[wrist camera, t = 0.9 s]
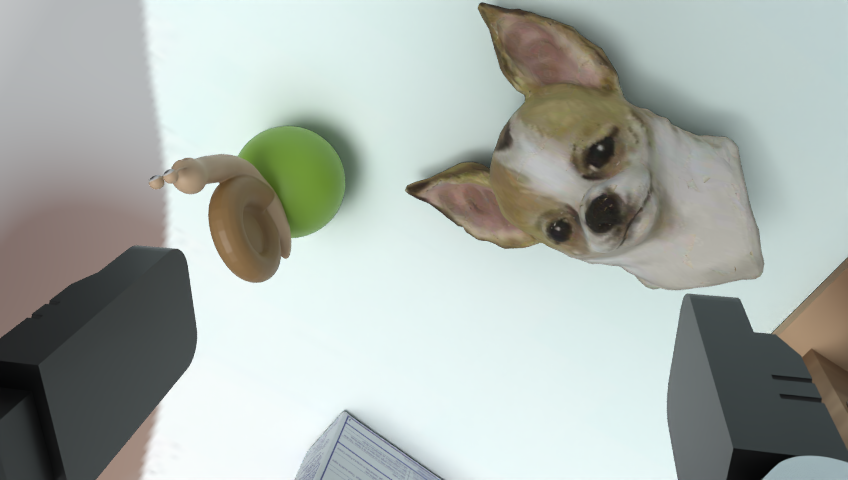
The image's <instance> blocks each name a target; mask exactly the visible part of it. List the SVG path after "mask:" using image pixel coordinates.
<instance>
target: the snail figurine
mask: <svg viewBox="0 0 848 480" xmlns="http://www.w3.org/2000/svg"><path fill="white" fill-rule="evenodd" d="M163 178H164V179H163ZM164 180H165V181H166V182H167V183H173V184H174V186H175V187H176V188H177V189H178V190H179V191H181V192H183V193H186V194H195V193H198V192H200V191H201V190H202V189H203V188H204V186H205V185H206V184H210V183H216V182H219V183H220V184H219V185H218V186H217V188H216V189H215V191H214V193H213V195H212V197H211V200H210V204H209V214H208V217H209V227H210V231H211V236H212V239H213V242H214V245H215V247H216V249H217V251H218V253H219V255H220V257H221V258H222V260H223V262H224V263H225V264H226V266H227V267H228V268H229V269H230V270H231V271H232V272H233V273H234V274H235V275H236V276H238V277H239V278H241V279H243V280H245V281H248V282H252V283H257V282H263V281H266V280H268V279H269V278H271V277H272V276H273V275H274V274H275V272H276V271H277V269H278V267H279V264H280V259H281V256H282V257H283V258H285V259H286V258H288V257H289V255H290V252H291V238H298V237H303V236H306V235H309V234H312V233H314V232H316V231H318V230H319V229H321V228H322V227H324V226H325V225H326V224H327V223H328V222H329V221H330V220H331V219H332V218H333V217H334V216H335V214H336V213H337V211H338V209H339V207H340V205H341V203H342V200H343V197H344V192H345V173H344V169H343V165H342V163H341V160H340V158H339V156H338V154H337V153H336V151H335V150H334V148H333V147H332V146H331V145H330V144H329V143H328V142H327V141H326V140H325V139H324V138H322V137H321V136H319V135H318V134H316V133H314V132H312V131H310V130H307V129H304V128H301V127H295V126H280V127H275V128H271V129H268V130H266V131H263V132H261V133H260V134H258V135H256V136H255V137H254V138H252V139H251V140H250V141H249V142H248V143H247V144H246V145H245V146H244V147H243V149H242V150H241V152H240V153H239V155H238V157H237V156H233V155H226V154H218V155H210V156H204V157H200V158H197V159H193V158H184V159H182V160H178V161H177V162H175V163H174V165H173V166H172V169H170V170H167V171H166V172H165V173H164V174H163V176H160V175H156V176H153V177H152V178H150V180H149V185H150V187H151V188H153V189H160V188H162V187H163V185H164Z"/></svg>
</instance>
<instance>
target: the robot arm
mask: <svg viewBox="0 0 848 480" xmlns="http://www.w3.org/2000/svg"><path fill="white" fill-rule="evenodd" d="M196 344H197V328H196V321H195V314H194V307H193V300H192V293H191V286H190V279H189V272H188V265H187V261H186V258H185V256H184V254H183V253H182V251H180V250H179V249H172V248H160V247H149V246H132V247H130V248H129V249H128V250H126V251H125V252H124V253H122V254H121V255H120V256H119V257H117V258H116V259H115V260H114V261H112V262H111V263H110V264H108V265H107V266H106V267H105V268H104V269H102V270H101V271H99V272H98V273H95V274H93V275H91V276H89V277H86V278H84V279H82V280H80V281H78V282H75V283H73V284H71V285H69V286H68V287H67V288H65V289H64V290H63V291H62V292H60V293H59V294H58V295H56V296H55V297H54V298H52V299H51V300H50V303H49V304H45V305H43V306H42V307H41V308H39V309H38V310H37V311H35V312H34V313H33V314H32V317H31V318H26V319H25V320H24V321H22V322H21V323H20V324H18V325H17V326H16V327H14V328H13V329H12V330H11V331H9V332H8V333H7V334H5V335H4V336H3V337H1V338H0V480H96V479H97V478H98V476H99V475H100V474H101V473H102V471H103V470H104V469H105V468H106V467H107V465H108V464H109V463H110V462H111V460H112V459H113V458H114V457H115V456H116V455H117V453H118V452H119V451H120V450H121V448H122V447H123V446H124V445H125V444H126V442H127V441H128V440H129V439H130V438H131V436H132V435H133V434H134V433H135V431H136V430H137V429H138V428H139V426H140V425H141V424H142V423H143V422H144V421H145V419H146V418H147V417H148V416H149V414H150V413H151V412H152V411H153V410H154V408H155V407H156V406H157V405H158V404H159V402H160V401H161V400H162V399H163V398H164V396H165V395H166V394H167V393H168V392H169V390H170V389H171V388H172V387H173V385H174V384H175V383H176V382H177V381H178V379H179V378H180V377H181V376H182V375H183V373H184V372H185V371H186V370H187V368H188V367H189V365H190V364H191V362H192V359H193V357H194V353H195V349H196ZM667 419H668V427H669V432H670V438H671V444H672V449H673V455H674V461H675V466H676V472H677V477H678V480H848V450H847V448H846V446H845V444H844V442H843V440H842V438H841V436H840V434H839V432H838V430H837V428H836V426H835V424H834V422H833V420H832V417H831V415H830V413H829V411H828V409H827V407H826V405H825V403H822V397H821V395H820V393H819V391H818V389H817V387H816V385H815V383H812V377H811V375H810V373H809V371H808V369H807V367H806V365H805V363H804V361H803V359H802V357H801V355H800V354H798V353H797V352H796V351H795V350H794V349H792V348H791V347H790V346H789V345H788V344H786V343H785V342H784V341H783V340H782V339H781V338H779V337H778V336H777V335H776V334H766V333H755V332H753V329H752V327H751V325H750V322H749V320H748V317H747V315H746V312H745V310H744V308H743V305H742V303H741V301H740V299H739V298H733V297H721V296H709V295H697V294H686V295H685V296H684V298H683V301H682V305H681V310H680V316H679V322H678V328H677V334H676V340H675V346H674V352H673V358H672V364H671V370H670V377H669V383H668V393H667Z"/></svg>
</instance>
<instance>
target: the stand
mask: <svg viewBox="0 0 848 480" xmlns="http://www.w3.org/2000/svg"><path fill="white" fill-rule="evenodd" d="M772 334H776V335H777V336H778V337H779V338H781V339H782V340H783V341H784V342H785V343H786V344H788V345H789V346H790V347H791V348H792V349H794V350H795V351H796V352H797V353H798V354H800V355H801V357H802V359H803V361H804V363H805V365H806V367H807V369H808V371H809V373H810V375H811V377H812V383H815V385H816V387H817V389H818V391H819V393H820V395H821V397H822V403H825V405H826V407H827V409H828V411H829V413H830V415H831V417H832V420H833V422H834V424H835V426H836V428H837V430H838V432H839V434H840V436H841V438H842V440H843V442H844V444H845V446H846V448H847V450H848V407H847V405H846V402H847V401H848V258H847V259H846V260H845V261H844V262H843V263H842V264H841V265H840V266H839V267H838V268H837V269H836V270H835V271H834V272H833V273H832V274H831V275H830V276H829V277H828V278H827V279H826V280H825V281H824V282H823V283H822V284H821V285H820V286H819V287H818V288H817V289H816V290H815V291H814V292H813V293H812V294H811V295H810V296H809V297H808V298H807V299H806V300H805V301H804V302H803V303H802V304H801V305H800V306H799V307H798V308H797V309H796V310H795V311H794V312H793V313H792V314H791V315H790V316H789V317H788V318H787V319H786V320H785V321H784V322H783V323H782V324H781V325H780V326H779V327H778V328H777V329H776V330H775V331H774V332H773V333H772Z"/></svg>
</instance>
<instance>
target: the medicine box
mask: <svg viewBox="0 0 848 480" xmlns="http://www.w3.org/2000/svg"><path fill="white" fill-rule="evenodd" d="M295 480H441V479H440V478H438V477H437V476H436V475H434V474H433V473H431V472H430V471H428V470H427V469H425V468H424V467H423V466H421V465H420V464H418V463H417V462H415V461H414V460H413V459H411V458H410V457H408V456H407V455H406V454H404V453H403V452H401V451H400V450H398V449H397V448H396V447H394V446H393V445H391V444H390V443H388V442H387V441H386V440H384V439H383V438H381V437H380V436H378V435H377V434H376V433H374V432H373V431H371V430H370V429H368V428H367V427H366V426H364V425H363V424H361V423H360V422H358V421H357V420H356V419H354V418H353V417H351V416H350V415H349V414H348V413H347V412H345V411H343V412H342V413H341V414H340V415H339V417H338V418H337V419H336V420H335V421H334V422H333V423H332V424H331V426H330V427H329V428H328V429H327V430H326V431H325V432H324V433H323V435H322V436H321V437H320V438H319V439H318V440H317V441H316V443H315V444H314V445H313V446H312V447H311V448H310V449H309V451H308V452H307V454H306V456H305V458H304V460H303V462H302V464H301V466H300V469H299V471H298V473H297V475H296V477H295Z"/></svg>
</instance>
